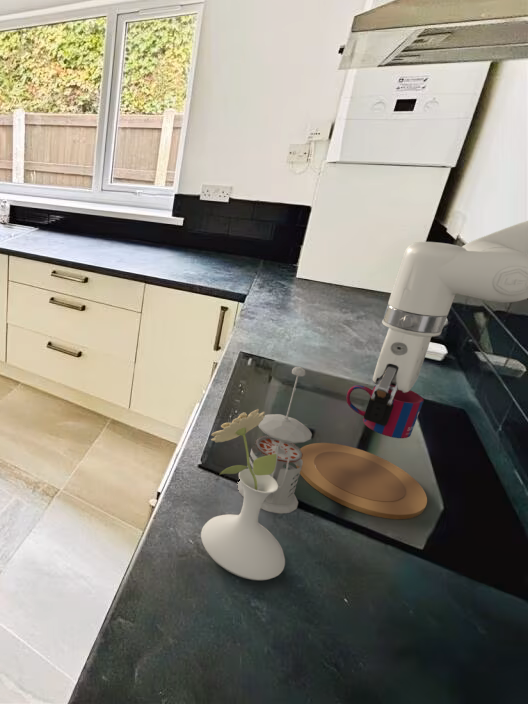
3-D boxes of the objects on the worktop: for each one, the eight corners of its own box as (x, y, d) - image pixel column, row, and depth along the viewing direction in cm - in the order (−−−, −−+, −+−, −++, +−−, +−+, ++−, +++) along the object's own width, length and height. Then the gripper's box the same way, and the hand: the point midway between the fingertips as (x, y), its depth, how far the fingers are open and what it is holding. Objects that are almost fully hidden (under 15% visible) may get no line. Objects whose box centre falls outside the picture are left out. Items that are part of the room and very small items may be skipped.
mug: (406, 443, 76) (419, 407, 73) (336, 418, 83) (346, 384, 80) (414, 428, 80) (427, 394, 77) (347, 405, 87) (357, 373, 84)
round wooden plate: (435, 484, 85) (437, 479, 84) (412, 538, 72) (414, 533, 72) (315, 435, 99) (316, 431, 99) (278, 474, 86) (279, 469, 86)
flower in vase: (258, 526, 74) (293, 390, 66) (299, 589, 64) (347, 436, 55) (178, 525, 74) (203, 389, 65) (206, 587, 63) (240, 435, 55)
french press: (296, 485, 84) (331, 362, 75) (301, 528, 74) (343, 393, 65) (237, 468, 88) (264, 350, 79) (235, 508, 78) (266, 377, 69)
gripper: (433, 339, 66) (395, 443, 72) (452, 314, 77) (417, 406, 83) (371, 324, 71) (340, 422, 78) (396, 303, 82) (368, 391, 88)
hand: (380, 413), depth 80 cm, fingers closed on mug, 6 cm apart
